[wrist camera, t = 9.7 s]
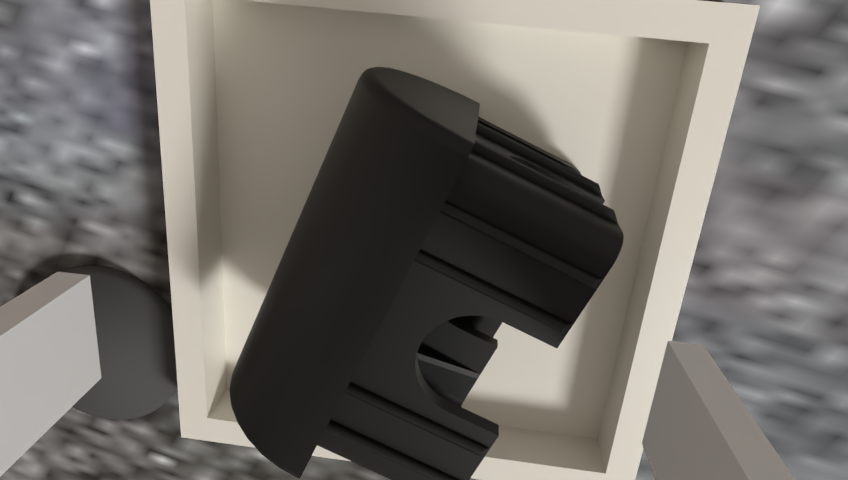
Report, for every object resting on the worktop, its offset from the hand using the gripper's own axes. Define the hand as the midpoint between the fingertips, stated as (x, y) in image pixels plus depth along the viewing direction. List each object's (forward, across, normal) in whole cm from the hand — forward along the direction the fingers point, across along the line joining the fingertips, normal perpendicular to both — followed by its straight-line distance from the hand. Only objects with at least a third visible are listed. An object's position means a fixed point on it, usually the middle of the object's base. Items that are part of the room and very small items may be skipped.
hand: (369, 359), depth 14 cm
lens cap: (+8, -11, -6) cm, 15 cm away
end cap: (+7, +1, 0) cm, 7 cm away
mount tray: (+8, +1, 0) cm, 8 cm away
